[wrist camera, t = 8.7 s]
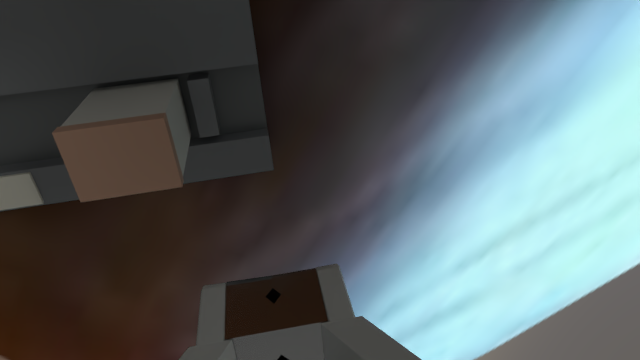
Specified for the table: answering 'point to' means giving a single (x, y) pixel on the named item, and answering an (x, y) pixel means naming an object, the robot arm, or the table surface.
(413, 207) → the table surface
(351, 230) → the table surface
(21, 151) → the switch bank
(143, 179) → the tab
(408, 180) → the table surface
